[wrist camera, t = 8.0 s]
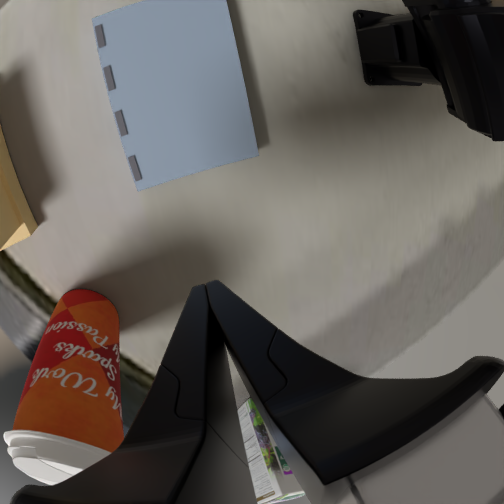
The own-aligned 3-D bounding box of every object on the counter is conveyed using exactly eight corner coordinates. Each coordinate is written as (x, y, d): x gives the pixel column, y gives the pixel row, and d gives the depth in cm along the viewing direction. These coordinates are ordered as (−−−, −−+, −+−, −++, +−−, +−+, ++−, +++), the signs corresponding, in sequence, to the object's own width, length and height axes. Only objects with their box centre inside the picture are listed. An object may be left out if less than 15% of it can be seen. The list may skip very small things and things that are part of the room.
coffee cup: (148, 307, 23) (160, 483, 11) (108, 358, 25) (108, 501, 13) (63, 258, 19) (2, 436, 6) (35, 320, 21) (-1, 467, 8)
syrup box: (282, 399, 37) (320, 487, 25) (260, 419, 39) (291, 501, 27) (248, 396, 34) (284, 495, 22) (227, 418, 36) (255, 508, 24)
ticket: (218, -8, 13) (222, -16, 11) (252, 151, 19) (259, 156, 18) (97, 24, 12) (91, 18, 10) (140, 184, 18) (137, 192, 17)
